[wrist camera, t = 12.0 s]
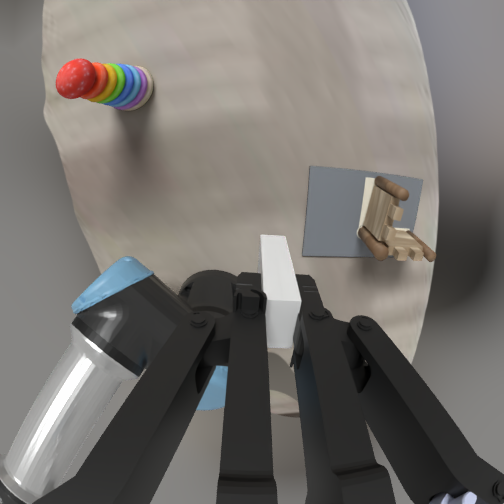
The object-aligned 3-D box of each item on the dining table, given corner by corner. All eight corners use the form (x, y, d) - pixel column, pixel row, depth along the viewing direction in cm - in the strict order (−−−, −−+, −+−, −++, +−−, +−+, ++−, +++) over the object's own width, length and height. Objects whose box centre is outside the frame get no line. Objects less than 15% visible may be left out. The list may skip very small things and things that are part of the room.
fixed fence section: (408, 239, 47) (433, 263, 38) (355, 237, 47) (375, 263, 38) (411, 228, 46) (437, 250, 37) (358, 224, 46) (379, 249, 37)
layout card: (405, 256, 49) (406, 257, 48) (302, 254, 49) (302, 255, 48) (421, 179, 41) (423, 180, 41) (309, 165, 42) (310, 166, 41)
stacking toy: (154, 62, 34) (95, 34, 17) (156, 106, 37) (94, 100, 20) (113, 73, 34) (42, 60, 17) (114, 115, 37) (43, 120, 21)
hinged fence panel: (362, 223, 45) (382, 245, 37) (376, 174, 41) (400, 187, 33) (371, 225, 45) (392, 247, 37) (384, 177, 41) (410, 190, 33)
